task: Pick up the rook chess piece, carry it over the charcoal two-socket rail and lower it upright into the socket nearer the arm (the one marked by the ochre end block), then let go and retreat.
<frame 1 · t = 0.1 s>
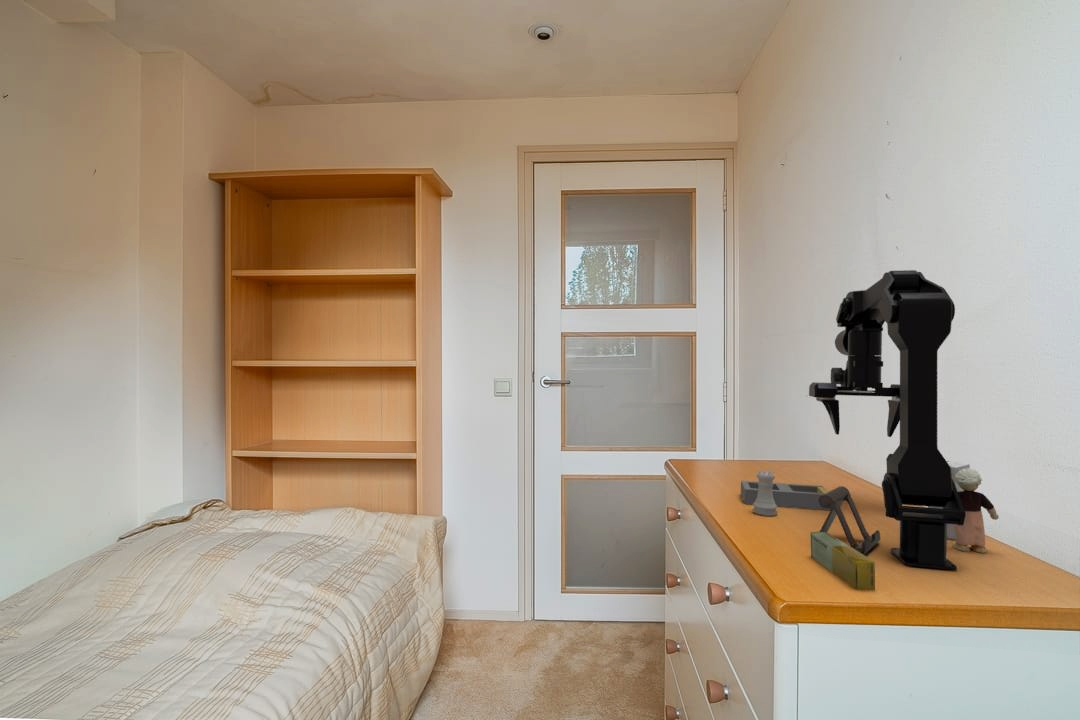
hand: (862, 435, 110), 15 cm above the table, fingers open, 9 cm apart
medication box: (840, 574, 78), on the table
portable electronic device stand: (845, 546, 89), on the table
socket rail: (783, 502, 115), on the table
grandmother figurine: (966, 550, 88), on the table
rook chess piece: (764, 514, 106), on the table
skincare box: (947, 535, 95), on the table
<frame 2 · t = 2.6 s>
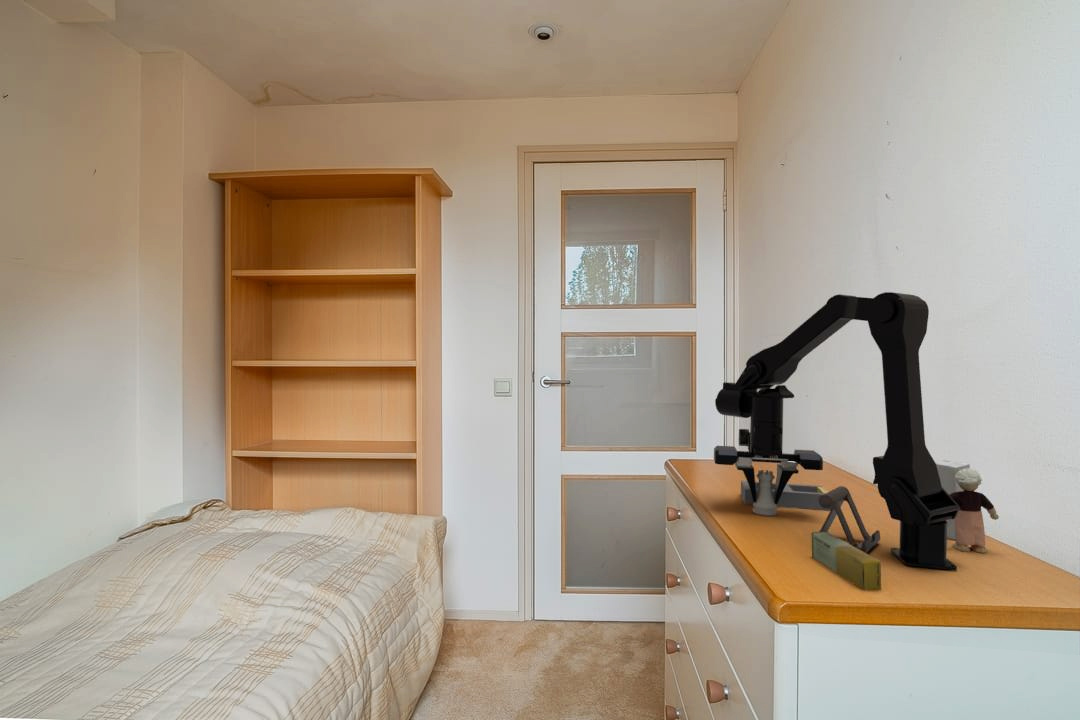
hand: (765, 502, 106), 2 cm above the table, fingers closed on rook chess piece, 3 cm apart
rook chess piece: (764, 514, 106), on the table, touching gripper
everything else where it was.
when the fingers open (3 cm above the table, at t = 6.4 s): rook chess piece drops 1 cm, resting in socket rail.
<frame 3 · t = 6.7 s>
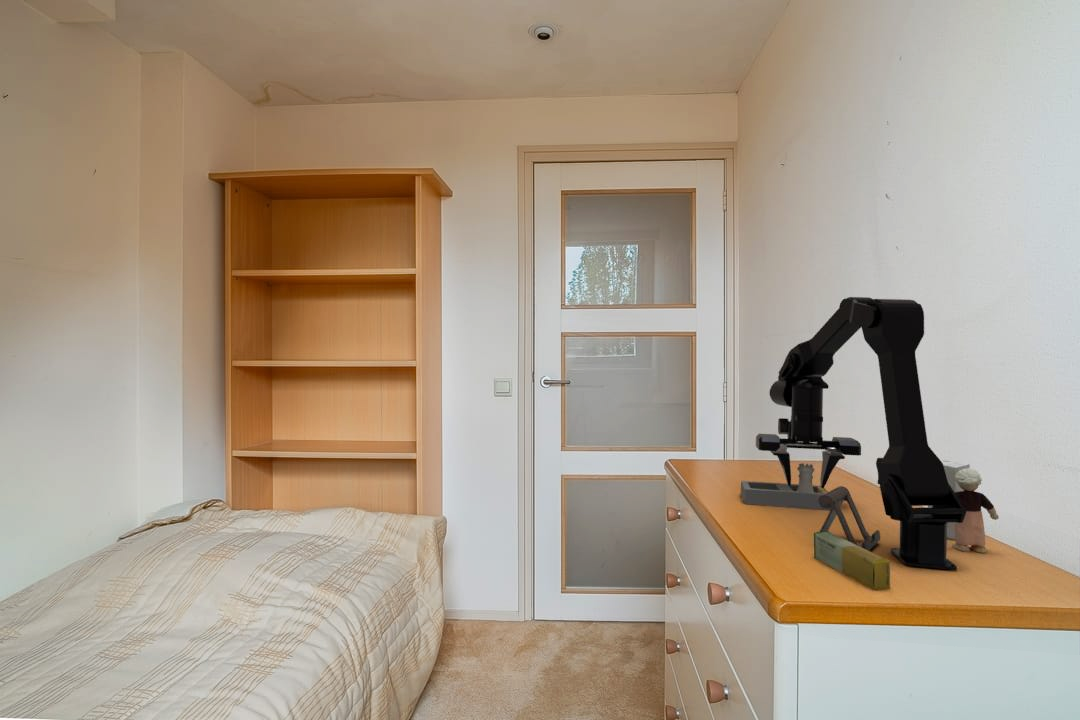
hand: (805, 486, 114), 3 cm above the table, fingers open, 6 cm apart
rook chess piece: (805, 504, 114), resting in socket rail
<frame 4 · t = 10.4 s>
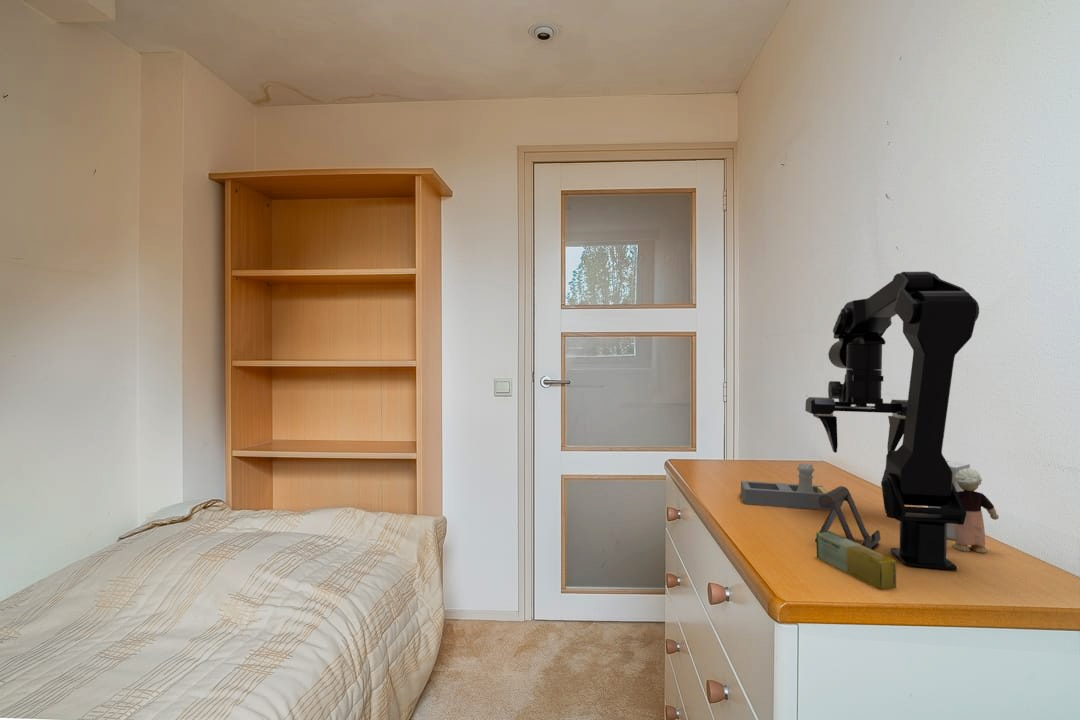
hand: (862, 453, 104), 12 cm above the table, fingers open, 9 cm apart
at the end: rook chess piece 0.0 cm from the target spot on the socket rail, point 0.0 cm above the socket rail's base; rook chess piece tilted 0°; the gripper is holding nothing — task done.
